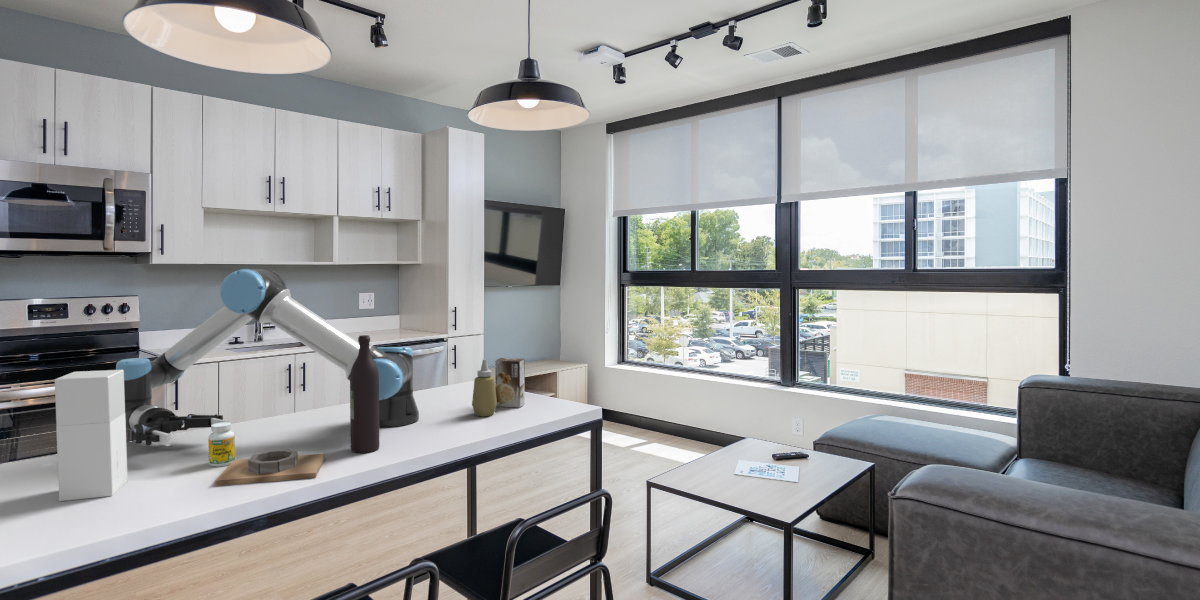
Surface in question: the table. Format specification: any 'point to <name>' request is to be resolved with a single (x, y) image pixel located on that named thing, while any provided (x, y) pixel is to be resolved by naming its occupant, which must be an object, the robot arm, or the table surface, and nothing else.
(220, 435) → the supplement bottle
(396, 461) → the table surface
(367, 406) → the wine bottle
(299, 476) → the board
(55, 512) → the table surface
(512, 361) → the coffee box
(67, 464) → the tall white carton
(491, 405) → the squeeze bottle
